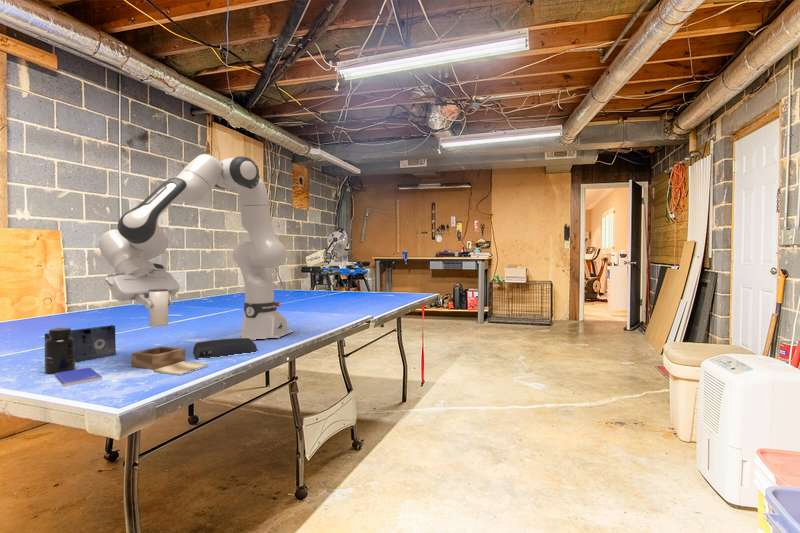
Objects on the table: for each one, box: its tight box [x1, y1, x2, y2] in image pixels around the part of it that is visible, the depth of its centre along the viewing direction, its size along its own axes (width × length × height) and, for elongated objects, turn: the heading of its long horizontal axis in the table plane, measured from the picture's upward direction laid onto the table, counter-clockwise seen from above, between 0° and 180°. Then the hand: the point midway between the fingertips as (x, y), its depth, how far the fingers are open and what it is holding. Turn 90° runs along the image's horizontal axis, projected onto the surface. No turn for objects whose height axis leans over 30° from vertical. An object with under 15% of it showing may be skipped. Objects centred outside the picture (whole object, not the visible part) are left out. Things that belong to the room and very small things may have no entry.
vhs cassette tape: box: [44, 324, 117, 364], centre depth 131 cm, size 18×3×10 cm, turn 149°
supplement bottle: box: [44, 327, 76, 375], centre depth 119 cm, size 7×7×12 cm
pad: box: [152, 361, 209, 375], centre depth 122 cm, size 10×10×1 cm
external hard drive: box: [192, 337, 258, 360], centre depth 143 cm, size 13×19×4 cm
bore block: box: [131, 345, 186, 370], centre depth 127 cm, size 10×10×4 cm
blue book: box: [53, 367, 103, 387], centre depth 113 cm, size 2×8×12 cm
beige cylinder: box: [148, 289, 169, 328], centre depth 127 cm, size 5×5×11 cm
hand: (160, 306), depth 126 cm, fingers closed on beige cylinder, 5 cm apart
